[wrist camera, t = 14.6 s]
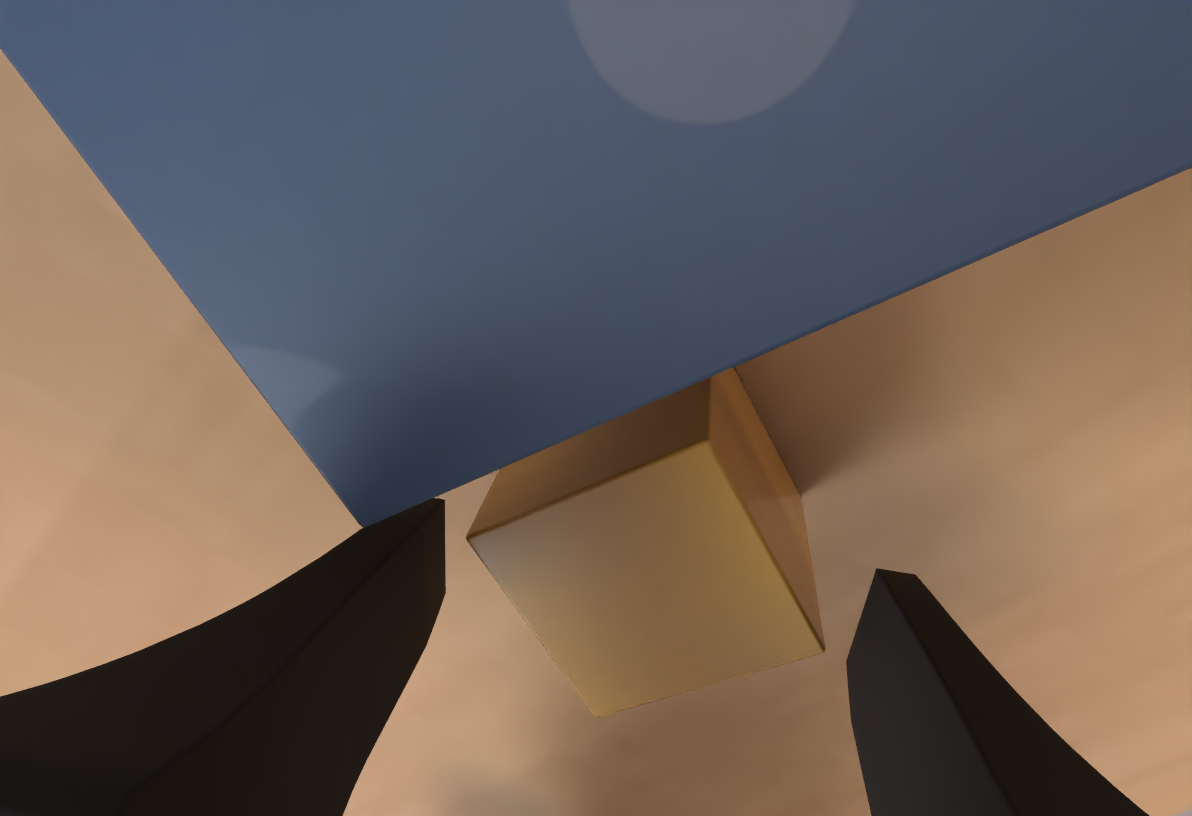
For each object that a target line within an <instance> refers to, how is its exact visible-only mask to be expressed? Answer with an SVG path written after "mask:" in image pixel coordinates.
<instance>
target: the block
mask: <svg viewBox="0 0 1192 816" xmlns="http://www.w3.org/2000/svg"><path fill="white" fill-rule="evenodd" d="M466 539H467V541H468V543H469V544H470V545H471V547H472V548H473V550H474V551H475V552H476V554H477V555H478V556H479V558H480V559H481V561H482V562H483V563H484V565H485V566H486V567H487V569H488V570H489V572H490V573H491V574H492V576H493V577H494V578H495V580H496V581H497V583H498V584H499V585H500V587H501V588H502V589H503V591H504V592H505V594H506V595H507V596H508V598H509V599H510V600H511V602H512V603H513V605H514V606H515V607H516V609H517V610H518V611H519V613H520V614H521V616H522V617H523V618H524V620H525V621H526V622H527V624H528V625H529V627H530V628H531V629H532V631H533V632H534V633H535V635H536V636H537V638H538V639H539V640H540V642H541V643H542V644H543V646H544V647H545V649H546V650H547V651H548V653H549V654H550V655H551V657H552V658H553V660H554V661H555V662H556V664H557V665H558V666H559V668H560V669H561V671H562V672H563V673H564V675H565V676H566V677H567V679H568V680H569V682H570V683H571V684H572V686H573V687H574V688H575V690H576V691H577V693H578V694H579V695H580V697H581V698H582V699H583V701H584V702H585V704H586V705H587V706H588V708H589V709H590V710H591V712H592V713H593V715H594V716H596V717H600V716H604V715H607V714H611V713H614V712H618V711H621V710H625V709H628V708H632V707H635V706H639V705H642V704H646V703H649V702H653V701H656V700H660V699H663V698H667V697H670V696H674V695H677V694H681V693H684V692H688V691H691V690H695V689H698V688H702V687H705V686H709V685H712V684H716V683H719V682H723V681H726V680H730V679H733V678H737V677H740V676H744V675H747V674H751V673H755V672H758V671H762V670H765V669H769V668H772V667H776V666H779V665H783V664H786V663H790V662H793V661H797V660H800V659H804V658H807V657H811V656H814V655H818V654H821V653H823V652H825V642H824V636H823V630H822V624H821V617H820V611H819V605H818V599H817V593H816V587H815V581H814V575H813V569H812V562H811V556H810V550H809V544H808V538H807V532H806V526H805V520H804V514H803V507H802V501H801V496H800V494H799V492H798V490H797V489H796V487H795V485H794V483H793V481H792V479H791V477H790V475H789V473H788V471H787V469H786V467H785V465H784V464H783V462H782V460H781V458H780V456H779V454H778V452H777V450H776V448H775V446H774V444H773V442H772V441H771V439H770V437H769V435H768V433H767V431H766V429H765V427H764V425H763V423H762V421H761V419H760V417H759V416H758V414H757V412H756V410H755V408H754V406H753V404H752V402H751V400H750V398H749V396H748V394H747V393H746V391H745V389H744V387H743V385H742V383H741V381H740V379H739V377H738V375H737V373H736V371H735V369H734V368H733V367H732V368H730V369H728V370H726V371H723V372H721V373H719V374H716V375H714V376H712V377H710V378H707V379H705V380H703V381H700V382H698V383H696V384H693V385H691V386H689V387H687V388H684V389H682V390H680V391H677V392H675V393H673V394H670V395H668V396H666V397H664V398H661V399H659V400H657V401H654V402H652V403H650V404H648V405H645V406H643V407H641V408H638V409H636V410H634V411H631V412H629V413H627V414H625V415H622V416H620V417H618V418H615V419H613V420H611V421H608V422H606V423H604V424H602V425H599V426H597V427H595V428H592V429H590V430H588V431H586V432H583V433H581V434H579V435H576V436H574V437H572V438H569V439H567V440H565V441H563V442H560V443H558V444H556V445H553V446H551V447H549V448H546V449H544V450H542V451H540V452H537V453H535V454H533V455H530V456H528V457H526V458H524V459H521V460H519V461H517V462H514V463H512V464H510V465H507V466H505V467H503V468H501V469H499V471H498V473H497V475H496V477H495V479H494V481H493V483H492V485H491V487H490V489H489V491H488V493H487V496H486V498H485V500H484V502H483V504H482V506H481V508H480V510H479V512H478V514H477V516H476V518H475V520H474V522H473V524H472V526H471V528H470V530H469V532H468V534H467V536H466Z"/></svg>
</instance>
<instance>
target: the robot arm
mask: <svg viewBox="0 0 1192 816" xmlns="http://www.w3.org/2000/svg"><path fill="white" fill-rule="evenodd" d="M445 593H446V585H445V500H443V499H437V498H432V499H429V500H427V501H425V502H422V503H420V504H418V505H416V506H413V507H411V508H409V509H406V510H404V511H402V512H400V513H397V514H395V515H393V516H390V517H388V518H386V519H383V520H381V521H379V522H377V523H374V524H372V525H370V526H367V527H363V528H362V529H360V530H359V531H358V532H356V533H355V534H353V535H352V536H351V537H349V538H348V539H346V540H345V541H343V542H342V543H340V544H339V545H337V546H336V547H335V548H333V549H332V550H330V551H329V552H327V553H326V554H324V555H323V556H321V557H320V558H318V559H317V560H315V561H313V562H312V563H310V564H309V565H307V566H305V567H304V568H302V569H301V570H299V571H297V572H296V573H294V574H292V575H291V576H289V577H288V578H286V579H284V580H283V581H281V582H280V583H278V584H276V585H275V586H273V587H271V588H270V589H268V590H266V591H264V592H263V593H261V594H259V595H257V596H255V597H253V598H252V599H250V600H248V601H246V602H244V603H242V604H240V605H238V606H236V607H235V608H233V609H231V610H229V611H227V612H225V613H223V614H221V615H219V616H217V617H215V618H213V619H211V620H209V621H206V622H204V623H202V624H200V625H198V626H196V627H193V628H191V629H189V630H186V631H184V632H182V633H179V634H177V635H175V636H172V637H170V638H168V639H165V640H163V641H161V642H159V643H156V644H154V645H152V646H149V647H147V648H145V649H142V650H140V651H137V652H135V653H132V654H130V655H127V656H124V657H122V658H119V659H116V660H113V661H111V662H108V663H105V664H103V665H100V666H97V667H94V668H91V669H88V670H85V671H83V672H80V673H77V674H74V675H71V676H68V677H65V678H62V679H59V680H56V681H53V682H49V683H46V684H43V685H40V686H36V687H33V688H29V689H26V690H22V691H19V692H15V693H12V694H8V695H5V696H1V697H0V816H343V813H344V811H345V808H346V806H347V803H348V801H349V798H350V796H351V793H352V791H353V788H354V786H355V784H356V782H357V780H358V777H359V775H360V773H361V771H362V769H363V767H364V765H365V763H366V760H367V758H368V757H369V755H370V753H371V751H372V749H373V747H374V745H375V743H376V741H377V739H378V737H379V736H380V734H381V732H382V730H383V728H384V726H385V724H386V722H387V720H388V718H389V716H390V715H391V713H392V711H393V709H394V707H395V705H396V703H397V701H398V699H399V697H400V696H401V694H402V692H403V690H404V688H405V686H406V684H407V682H408V680H409V678H410V676H411V674H412V672H413V670H414V669H415V667H416V665H417V663H418V661H419V659H420V657H421V655H422V653H423V651H424V649H425V647H426V645H427V642H428V640H429V637H430V634H431V632H432V629H433V627H434V624H435V621H436V618H437V616H438V613H439V610H440V607H441V604H442V602H443V599H444V596H445ZM846 664H847V678H848V692H849V702H850V713H851V722H852V727H853V732H854V737H855V741H856V746H857V751H858V755H859V760H860V765H861V769H862V774H863V778H864V783H865V788H866V792H867V797H868V801H869V806H870V810H871V815H872V816H1149V815H1148V814H1147V813H1145V812H1144V811H1143V810H1142V809H1140V808H1139V807H1138V806H1137V805H1136V804H1134V803H1133V802H1132V801H1131V800H1130V799H1129V798H1127V797H1126V796H1125V795H1124V794H1123V793H1121V792H1120V791H1119V790H1118V789H1117V788H1116V787H1114V786H1113V785H1112V784H1111V783H1110V782H1109V781H1108V780H1107V779H1106V778H1104V777H1103V776H1102V775H1101V774H1100V773H1099V772H1098V771H1097V770H1096V769H1095V768H1093V767H1092V766H1091V765H1090V764H1089V763H1088V762H1087V761H1086V760H1085V759H1083V758H1082V757H1081V756H1080V755H1079V754H1078V753H1077V752H1076V751H1075V750H1074V749H1072V748H1071V747H1070V746H1069V745H1068V744H1067V743H1066V742H1065V741H1064V740H1063V739H1062V738H1061V737H1060V736H1059V735H1058V734H1057V733H1056V732H1055V731H1054V730H1053V729H1052V728H1051V727H1050V726H1049V725H1048V724H1047V723H1046V722H1045V721H1044V720H1043V719H1042V718H1041V717H1040V716H1039V715H1038V714H1037V713H1036V712H1035V711H1034V710H1033V709H1032V708H1031V707H1030V706H1029V705H1028V704H1027V702H1026V701H1025V700H1024V699H1023V698H1022V697H1021V696H1020V695H1019V694H1018V693H1017V692H1016V691H1015V690H1014V689H1013V688H1012V687H1011V685H1010V684H1009V683H1008V682H1007V681H1006V680H1005V679H1004V678H1003V677H1002V676H1001V675H1000V673H999V672H998V671H997V670H996V669H995V668H994V667H993V666H992V664H991V663H990V662H989V661H988V660H987V659H986V658H985V656H984V655H983V654H982V653H981V652H980V651H979V650H978V648H977V647H976V646H975V645H974V644H973V643H972V641H971V640H970V639H969V638H968V637H967V635H966V634H965V633H964V632H963V631H962V629H961V628H960V627H959V626H958V625H957V623H956V622H955V621H954V620H953V619H952V618H951V616H950V615H949V614H948V613H947V611H946V610H945V609H944V608H943V607H942V605H941V604H940V603H939V602H938V601H937V599H936V598H935V597H934V596H933V595H932V593H931V592H930V591H929V590H928V589H927V587H926V586H925V585H924V584H923V583H922V582H921V580H920V579H919V578H918V577H917V576H916V575H915V574H909V573H902V572H896V571H890V570H884V569H877V568H876V571H875V575H874V578H873V581H872V584H871V587H870V590H869V593H868V596H867V599H866V602H865V605H864V608H863V611H862V615H861V618H860V621H859V624H858V627H857V630H856V633H855V636H854V639H853V642H852V645H851V648H850V651H849V655H848V658H847V661H846Z"/></svg>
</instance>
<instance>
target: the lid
mask: <svg viewBox="0 0 1192 816" xmlns="http://www.w3.org/2000/svg"><path fill="white" fill-rule="evenodd" d="M0 49H1V50H2V51H3V53H4V54H5V55H6V57H7V58H8V59H9V61H10V62H11V63H12V65H13V66H14V67H15V69H16V70H17V71H18V73H19V74H20V75H21V77H22V78H23V79H24V81H25V82H26V83H27V84H28V86H29V87H30V88H31V90H32V91H33V92H34V94H35V95H36V96H37V98H38V99H39V100H40V102H41V103H42V104H43V106H44V107H45V108H46V110H47V111H48V112H49V114H50V115H51V116H52V118H53V119H54V120H55V122H56V123H57V124H58V126H59V127H60V128H61V130H62V131H63V132H64V134H65V135H66V136H67V138H68V139H69V140H70V141H71V143H72V144H73V145H74V147H75V148H76V149H77V151H78V152H79V153H80V155H81V156H82V157H83V159H84V160H85V161H86V163H87V164H88V165H89V167H90V168H91V169H92V171H93V172H94V173H95V175H96V176H97V177H98V179H99V180H100V181H101V183H102V184H103V185H104V187H105V188H106V189H107V191H108V192H109V193H110V195H111V196H112V197H113V198H114V200H115V201H116V202H117V204H118V205H119V206H120V208H121V209H122V210H123V212H124V213H125V214H126V216H127V217H128V218H129V220H130V221H131V222H132V224H133V225H134V226H135V228H136V229H137V230H138V232H139V233H140V234H141V236H142V237H143V238H144V240H145V241H146V242H147V244H148V245H149V246H150V248H151V249H152V250H153V252H154V253H155V254H156V256H157V257H158V258H159V259H160V261H161V262H162V263H163V265H164V266H165V267H166V269H167V270H168V271H169V273H170V274H171V275H172V277H173V278H174V279H175V281H176V282H177V283H178V285H179V286H180V287H181V289H182V290H183V291H184V293H185V294H186V295H187V297H188V298H189V299H190V301H191V302H192V303H193V305H194V306H195V307H196V309H197V310H198V311H199V313H200V314H201V315H202V316H203V318H204V319H205V320H206V322H207V323H208V324H209V326H210V327H211V328H212V330H213V331H214V332H215V334H216V335H217V336H218V338H219V339H220V340H221V342H222V343H223V344H224V346H225V347H226V348H227V350H228V351H229V352H230V354H231V355H232V356H233V358H234V359H235V360H236V362H237V363H238V364H239V366H240V367H241V368H242V370H243V371H244V372H245V373H246V375H247V376H248V377H249V379H250V380H251V381H252V383H253V384H254V385H255V387H256V388H257V389H258V391H259V392H260V393H261V395H262V396H263V397H264V399H265V400H266V401H267V403H268V404H269V405H270V407H271V408H272V409H273V411H274V412H275V413H276V415H277V416H278V417H279V419H280V420H281V421H282V423H283V424H284V425H285V427H286V428H287V429H288V431H289V432H290V433H291V434H292V436H293V437H294V438H295V440H296V441H297V442H298V444H299V445H300V446H301V448H302V449H303V450H304V452H305V453H306V454H307V456H308V457H309V458H310V460H311V461H312V462H313V464H314V465H315V466H316V468H317V469H318V470H319V472H320V473H321V474H322V476H323V477H324V478H325V480H326V481H327V482H328V484H329V485H330V486H331V488H332V489H333V490H334V491H335V493H336V494H337V495H338V497H339V498H340V499H341V501H342V502H343V503H344V505H345V506H346V507H347V509H348V510H349V511H350V513H351V514H352V515H353V517H354V518H355V519H356V521H357V522H358V523H359V524H360V525H361V526H362V527H367V526H370V525H372V524H374V523H377V522H379V521H381V520H383V519H386V518H388V517H390V516H393V515H395V514H397V513H400V512H402V511H404V510H406V509H409V508H411V507H413V506H416V505H418V504H420V503H422V502H425V501H427V500H429V499H432V498H434V497H436V496H439V495H441V494H443V493H445V492H448V491H450V490H452V489H455V488H457V487H459V486H462V485H464V484H466V483H468V482H471V481H473V480H475V479H478V478H480V477H482V476H484V475H487V474H489V473H491V472H494V471H496V470H498V469H501V468H503V467H505V466H507V465H510V464H512V463H514V462H517V461H519V460H521V459H524V458H526V457H528V456H530V455H533V454H535V453H537V452H540V451H542V450H544V449H546V448H549V447H551V446H553V445H556V444H558V443H560V442H563V441H565V440H567V439H569V438H572V437H574V436H576V435H579V434H581V433H583V432H586V431H588V430H590V429H592V428H595V427H597V426H599V425H602V424H604V423H606V422H608V421H611V420H613V419H615V418H618V417H620V416H622V415H625V414H627V413H629V412H631V411H634V410H636V409H638V408H641V407H643V406H645V405H648V404H650V403H652V402H654V401H657V400H659V399H661V398H664V397H666V396H668V395H670V394H673V393H675V392H677V391H680V390H682V389H684V388H687V387H689V386H691V385H693V384H696V383H698V382H700V381H703V380H705V379H707V378H710V377H712V376H714V375H716V374H719V373H721V372H723V371H726V370H728V369H730V368H732V367H735V366H737V365H739V364H742V363H744V362H746V361H749V360H751V359H753V358H755V357H758V356H760V355H762V354H765V353H767V352H769V351H772V350H774V349H776V348H778V347H781V346H783V345H785V344H788V343H790V342H792V341H794V340H797V339H799V338H801V337H804V336H806V335H808V334H811V333H813V332H815V331H817V330H820V329H822V328H824V327H827V326H829V325H831V324H834V323H836V322H838V321H840V320H843V319H845V318H847V317H850V316H852V315H854V314H856V313H859V312H861V311H863V310H866V309H868V308H870V307H873V306H875V305H877V304H879V303H882V302H884V301H886V300H889V299H891V298H893V297H896V296H898V295H900V294H902V293H905V292H907V291H909V290H912V289H914V288H916V287H919V286H921V285H923V284H925V283H928V282H930V281H932V280H935V279H937V278H939V277H941V276H944V275H946V274H948V273H951V272H953V271H955V270H958V269H960V268H962V267H964V266H967V265H969V264H971V263H974V262H976V261H978V260H981V259H983V258H985V257H987V256H990V255H992V254H994V253H997V252H999V251H1001V250H1003V249H1006V248H1008V247H1010V246H1013V245H1015V244H1017V243H1020V242H1022V241H1024V240H1026V239H1029V238H1031V237H1033V236H1036V235H1038V234H1040V233H1043V232H1045V231H1047V230H1049V229H1052V228H1054V227H1056V226H1059V225H1061V224H1063V223H1065V222H1068V221H1070V220H1072V219H1075V218H1077V217H1079V216H1082V215H1084V214H1086V213H1088V212H1091V211H1093V210H1095V209H1098V208H1100V207H1102V206H1105V205H1107V204H1109V203H1111V202H1114V201H1116V200H1118V199H1121V198H1123V197H1125V196H1127V195H1130V194H1132V193H1134V192H1137V191H1139V190H1141V189H1144V188H1146V187H1148V186H1150V185H1153V184H1155V183H1157V182H1160V181H1162V180H1164V179H1167V178H1169V177H1171V176H1173V175H1176V174H1178V173H1180V172H1183V171H1185V170H1187V169H1189V168H1192V0H0Z"/></svg>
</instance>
